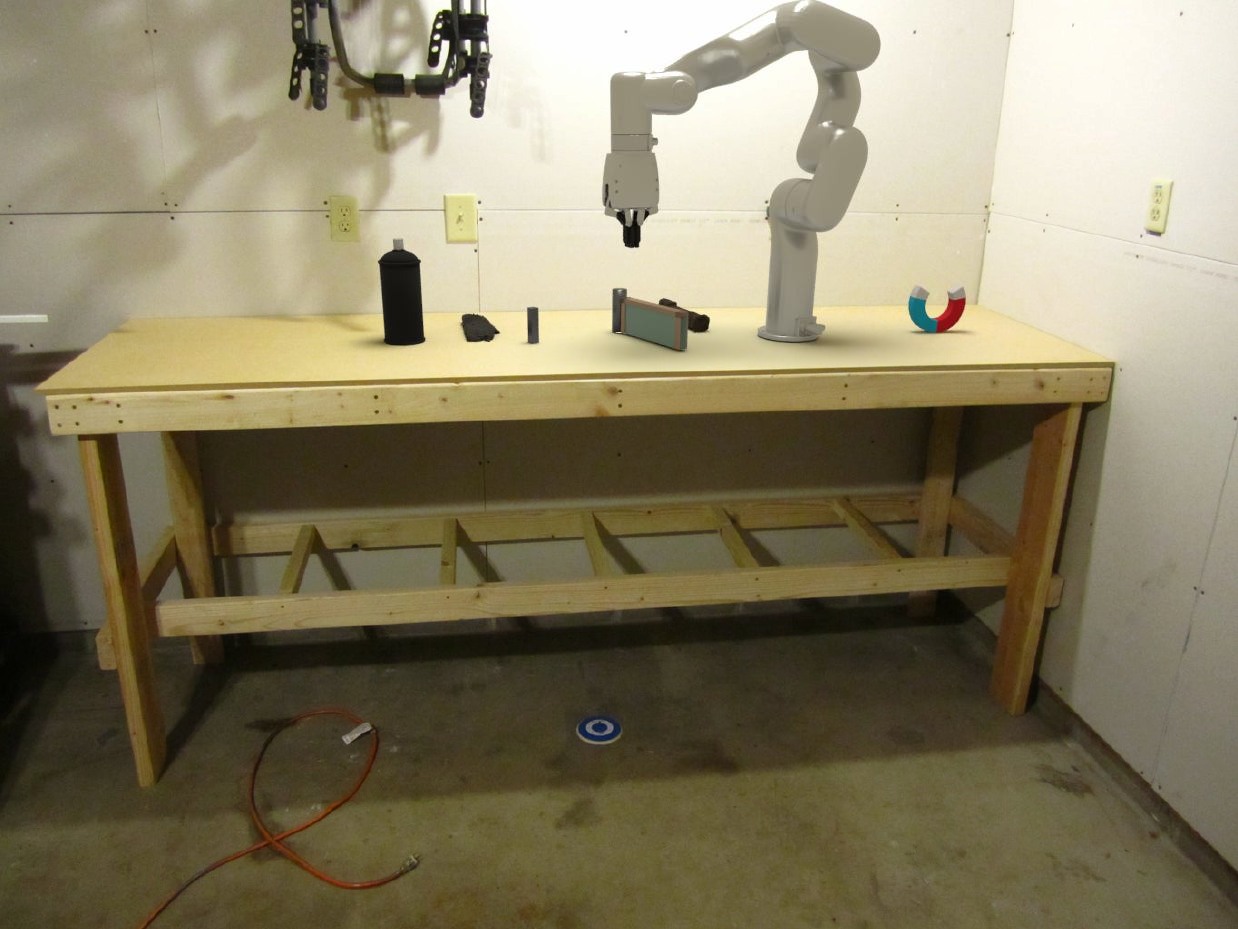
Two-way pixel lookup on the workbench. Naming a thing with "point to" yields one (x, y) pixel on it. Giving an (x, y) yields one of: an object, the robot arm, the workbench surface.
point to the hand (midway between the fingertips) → (631, 246)
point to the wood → (478, 328)
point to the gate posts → (616, 316)
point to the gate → (654, 322)
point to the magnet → (943, 321)
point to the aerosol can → (401, 296)
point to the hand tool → (690, 316)
